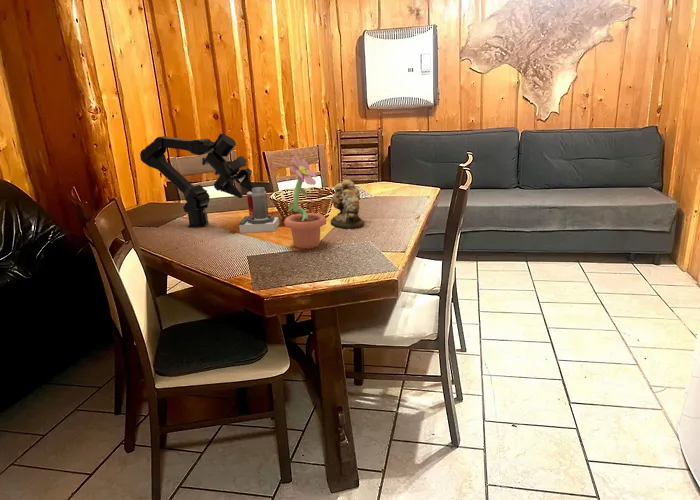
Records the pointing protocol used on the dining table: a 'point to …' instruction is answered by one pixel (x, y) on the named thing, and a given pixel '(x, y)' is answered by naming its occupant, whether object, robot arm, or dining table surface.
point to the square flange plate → (258, 224)
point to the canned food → (250, 204)
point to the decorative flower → (304, 223)
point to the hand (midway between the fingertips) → (248, 194)
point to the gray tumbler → (259, 203)
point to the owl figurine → (346, 206)
